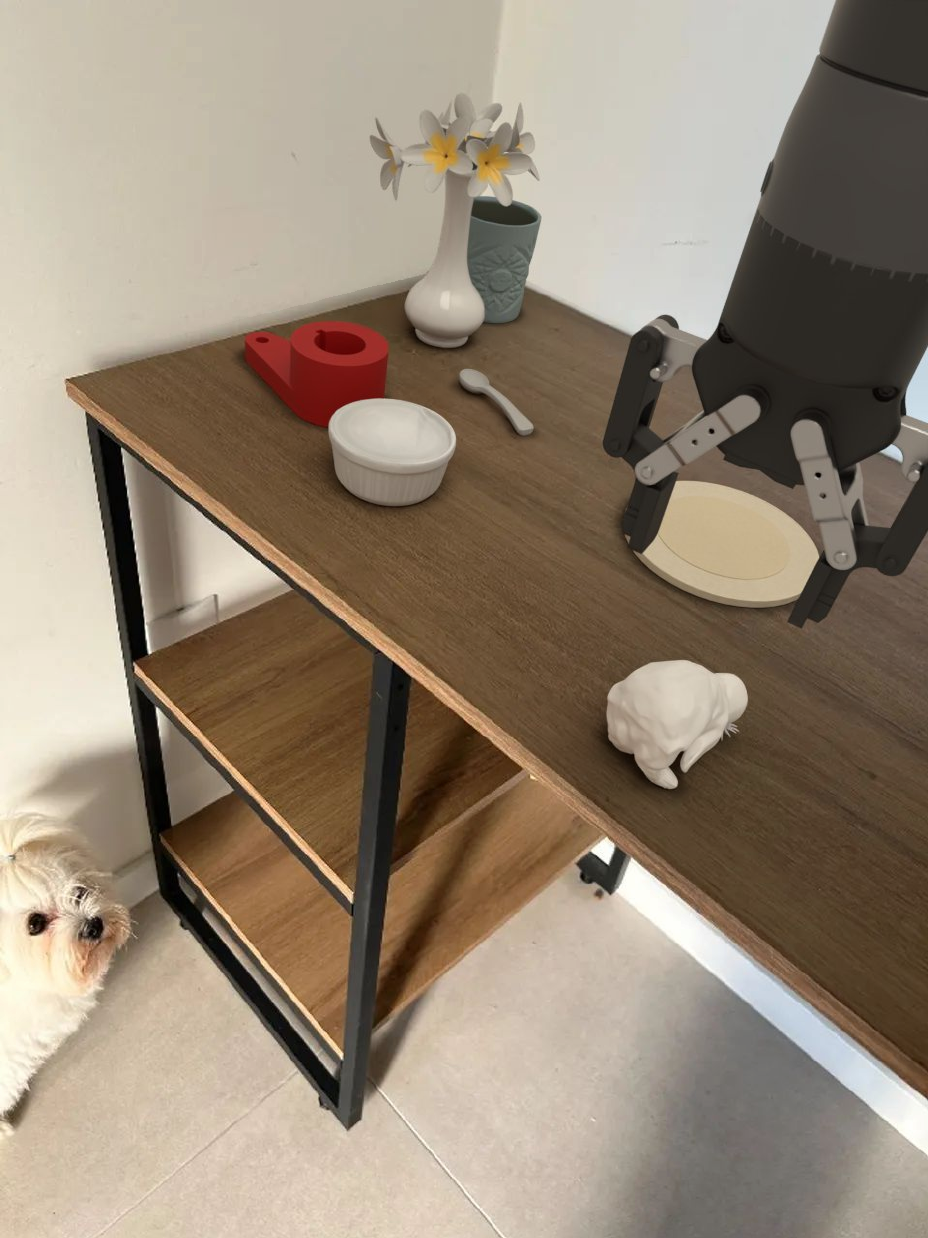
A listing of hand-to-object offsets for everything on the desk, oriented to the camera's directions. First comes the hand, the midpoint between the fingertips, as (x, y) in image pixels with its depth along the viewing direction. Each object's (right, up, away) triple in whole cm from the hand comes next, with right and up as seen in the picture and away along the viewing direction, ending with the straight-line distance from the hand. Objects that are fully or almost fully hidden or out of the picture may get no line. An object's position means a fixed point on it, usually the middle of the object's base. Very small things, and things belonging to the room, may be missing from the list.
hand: (717, 578), depth 44 cm
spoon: (-9, +20, +55) cm, 59 cm away
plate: (+11, +5, +42) cm, 43 cm away
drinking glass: (-9, +37, +74) cm, 83 cm away
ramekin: (-19, +11, +42) cm, 47 cm away
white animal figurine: (+3, -11, +22) cm, 25 cm away
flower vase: (-15, +31, +65) cm, 74 cm away
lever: (-28, +22, +52) cm, 63 cm away
